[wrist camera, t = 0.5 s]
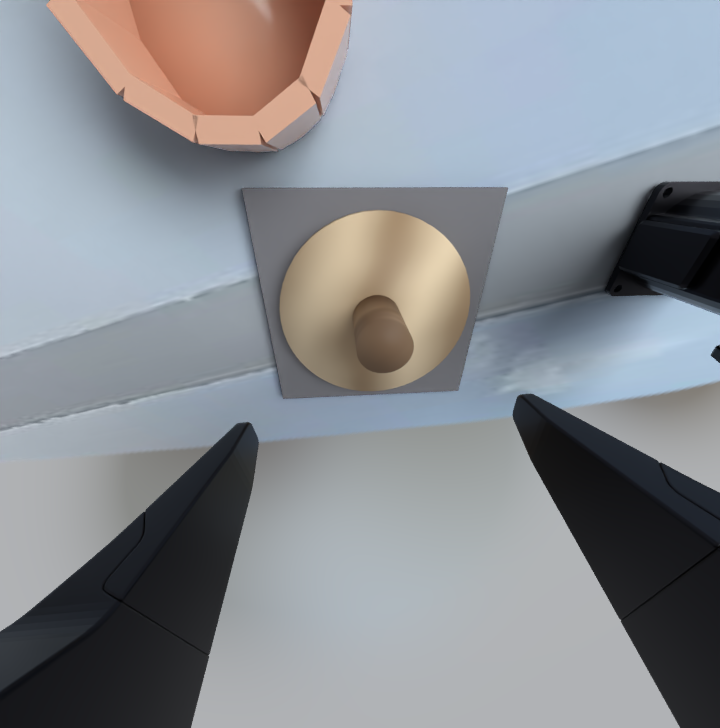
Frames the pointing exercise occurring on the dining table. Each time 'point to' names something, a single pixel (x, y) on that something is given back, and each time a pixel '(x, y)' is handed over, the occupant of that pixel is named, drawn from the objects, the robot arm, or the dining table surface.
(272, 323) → the rubber mat
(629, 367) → the dining table surface
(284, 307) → the oak lid
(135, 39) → the terracotta bowl
